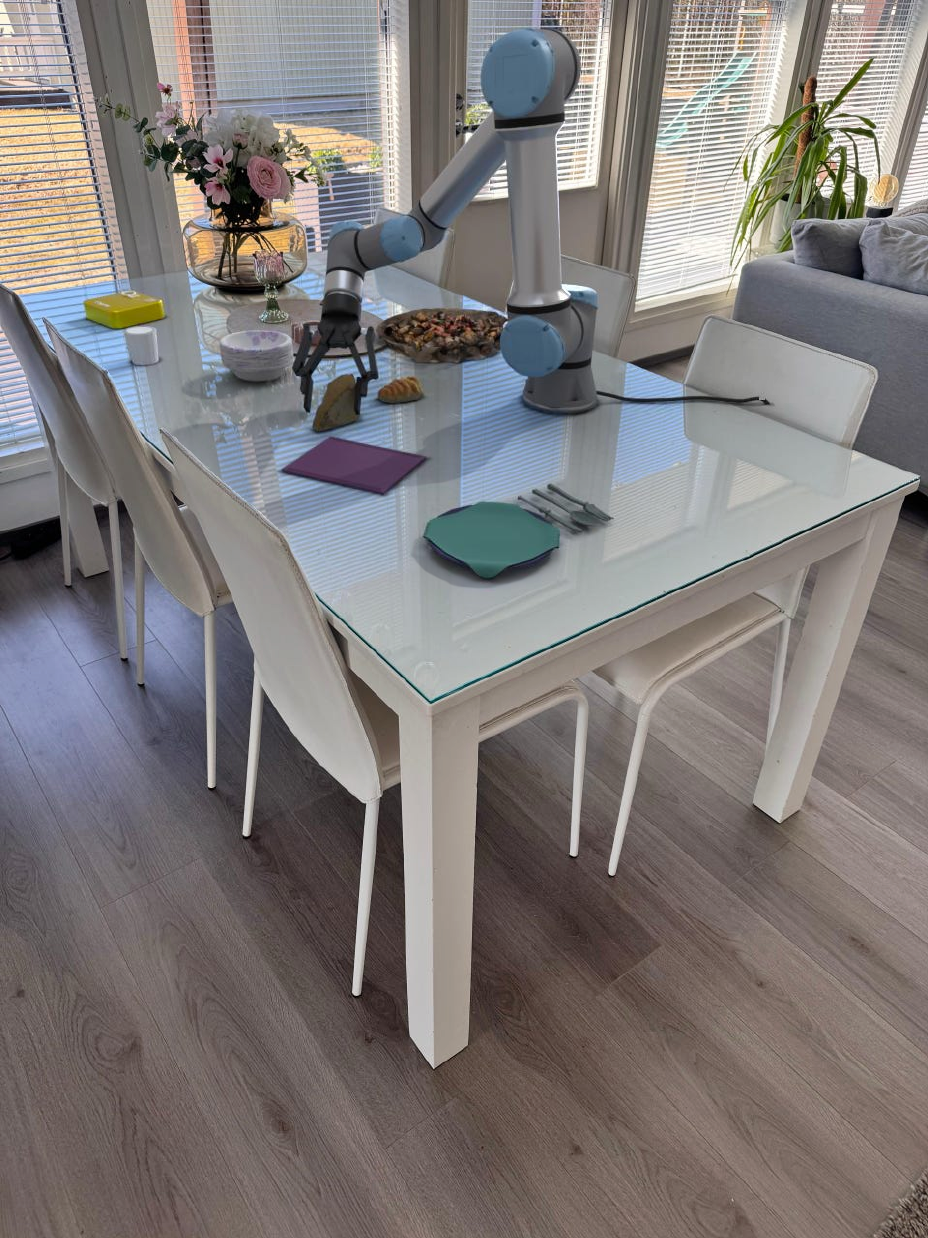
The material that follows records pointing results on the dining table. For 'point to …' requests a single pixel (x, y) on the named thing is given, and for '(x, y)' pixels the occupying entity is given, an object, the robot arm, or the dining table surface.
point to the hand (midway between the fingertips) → (331, 410)
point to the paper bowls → (257, 354)
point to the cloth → (355, 465)
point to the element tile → (124, 309)
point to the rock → (337, 404)
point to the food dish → (444, 334)
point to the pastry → (401, 390)
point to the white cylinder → (142, 344)
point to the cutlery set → (503, 533)
